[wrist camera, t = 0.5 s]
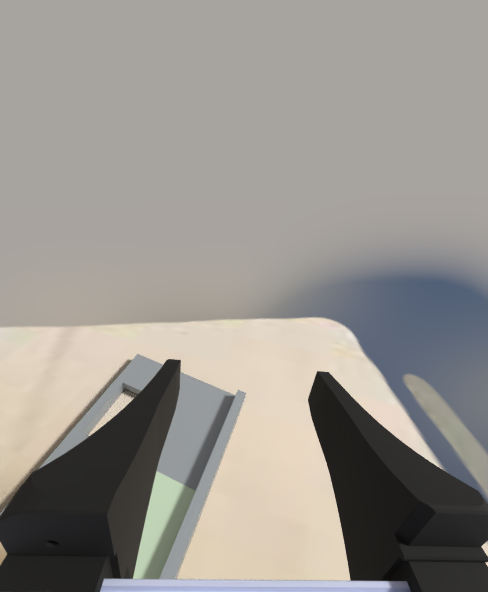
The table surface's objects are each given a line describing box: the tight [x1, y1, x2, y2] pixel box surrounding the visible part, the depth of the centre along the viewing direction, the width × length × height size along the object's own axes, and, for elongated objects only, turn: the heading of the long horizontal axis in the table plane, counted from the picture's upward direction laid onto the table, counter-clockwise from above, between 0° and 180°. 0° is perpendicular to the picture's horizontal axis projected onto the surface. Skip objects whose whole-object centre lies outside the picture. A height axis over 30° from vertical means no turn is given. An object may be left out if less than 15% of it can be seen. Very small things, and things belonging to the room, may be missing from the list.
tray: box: [0, 354, 246, 579], centre depth 23 cm, size 24×15×3 cm, turn 160°
